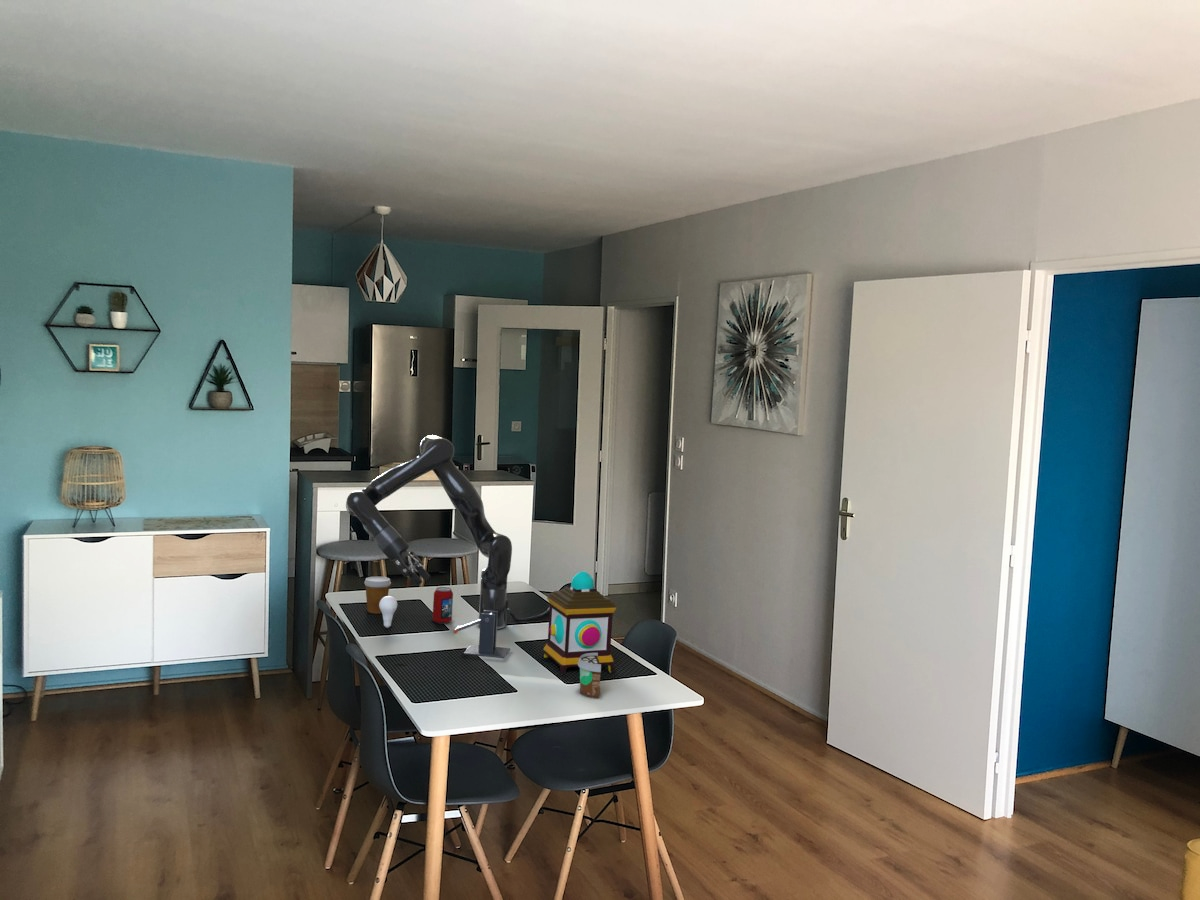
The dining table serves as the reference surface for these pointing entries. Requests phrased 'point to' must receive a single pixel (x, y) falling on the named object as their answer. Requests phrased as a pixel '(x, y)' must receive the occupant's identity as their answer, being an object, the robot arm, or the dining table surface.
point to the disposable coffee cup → (376, 592)
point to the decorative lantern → (579, 624)
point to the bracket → (487, 638)
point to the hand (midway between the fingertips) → (424, 581)
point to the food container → (589, 675)
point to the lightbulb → (388, 609)
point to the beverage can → (442, 605)
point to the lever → (467, 625)
